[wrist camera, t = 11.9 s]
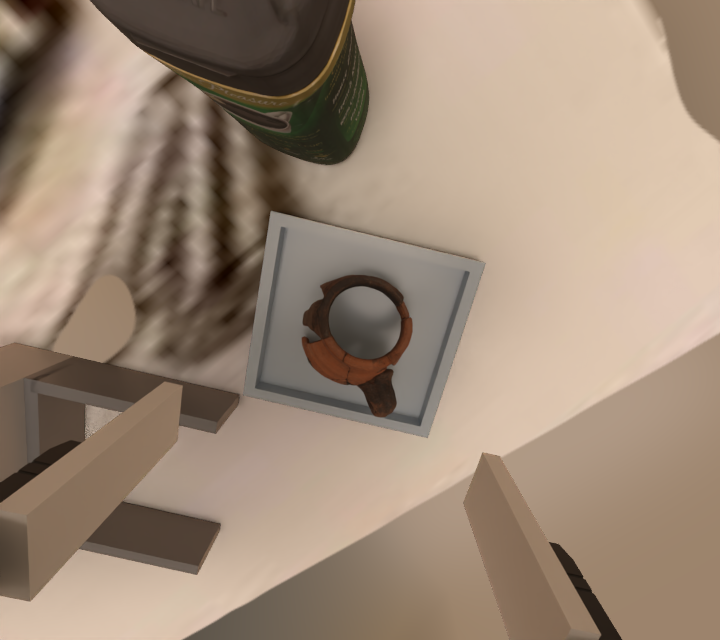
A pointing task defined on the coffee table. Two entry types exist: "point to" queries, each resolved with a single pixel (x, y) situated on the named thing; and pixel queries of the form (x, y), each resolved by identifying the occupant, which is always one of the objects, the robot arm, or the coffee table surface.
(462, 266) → the tray
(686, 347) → the coffee table surface
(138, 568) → the coffee table surface
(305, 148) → the coffee jar
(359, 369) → the pottery mug
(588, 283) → the coffee table surface
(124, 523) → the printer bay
